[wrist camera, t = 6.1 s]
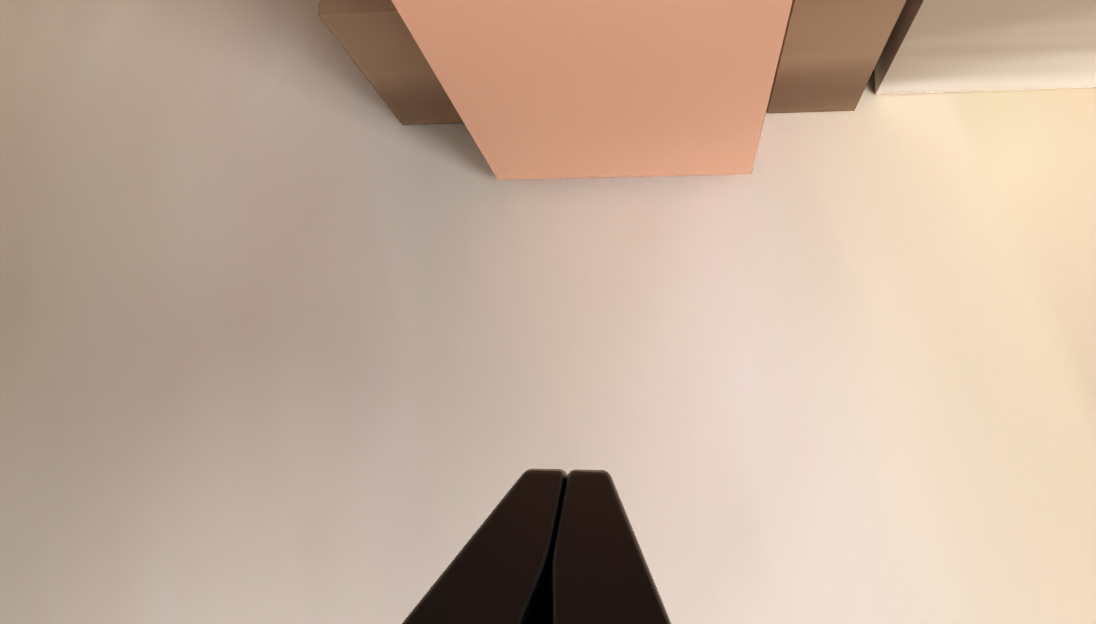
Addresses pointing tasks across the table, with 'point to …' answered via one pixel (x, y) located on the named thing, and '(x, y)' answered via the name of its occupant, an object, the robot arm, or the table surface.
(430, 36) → the terracotta plug
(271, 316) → the table surface
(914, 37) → the walnut holder
